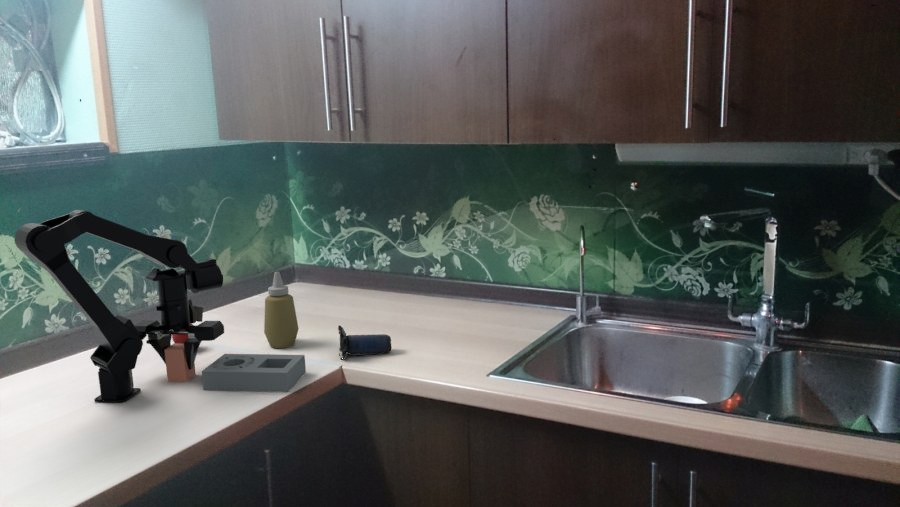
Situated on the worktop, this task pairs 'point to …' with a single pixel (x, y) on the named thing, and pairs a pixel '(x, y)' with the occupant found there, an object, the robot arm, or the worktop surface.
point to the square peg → (177, 364)
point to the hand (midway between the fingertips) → (180, 368)
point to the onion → (180, 338)
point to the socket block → (254, 372)
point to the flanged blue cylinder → (363, 344)
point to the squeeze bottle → (280, 315)
